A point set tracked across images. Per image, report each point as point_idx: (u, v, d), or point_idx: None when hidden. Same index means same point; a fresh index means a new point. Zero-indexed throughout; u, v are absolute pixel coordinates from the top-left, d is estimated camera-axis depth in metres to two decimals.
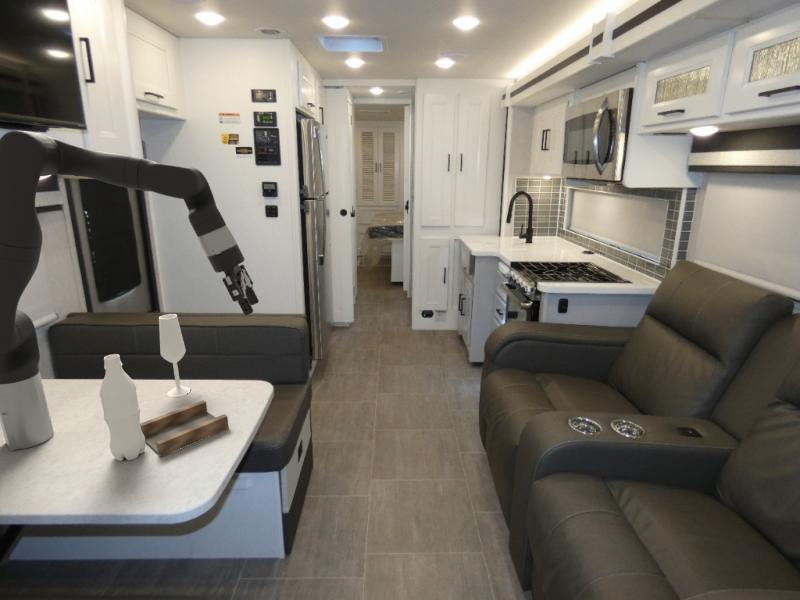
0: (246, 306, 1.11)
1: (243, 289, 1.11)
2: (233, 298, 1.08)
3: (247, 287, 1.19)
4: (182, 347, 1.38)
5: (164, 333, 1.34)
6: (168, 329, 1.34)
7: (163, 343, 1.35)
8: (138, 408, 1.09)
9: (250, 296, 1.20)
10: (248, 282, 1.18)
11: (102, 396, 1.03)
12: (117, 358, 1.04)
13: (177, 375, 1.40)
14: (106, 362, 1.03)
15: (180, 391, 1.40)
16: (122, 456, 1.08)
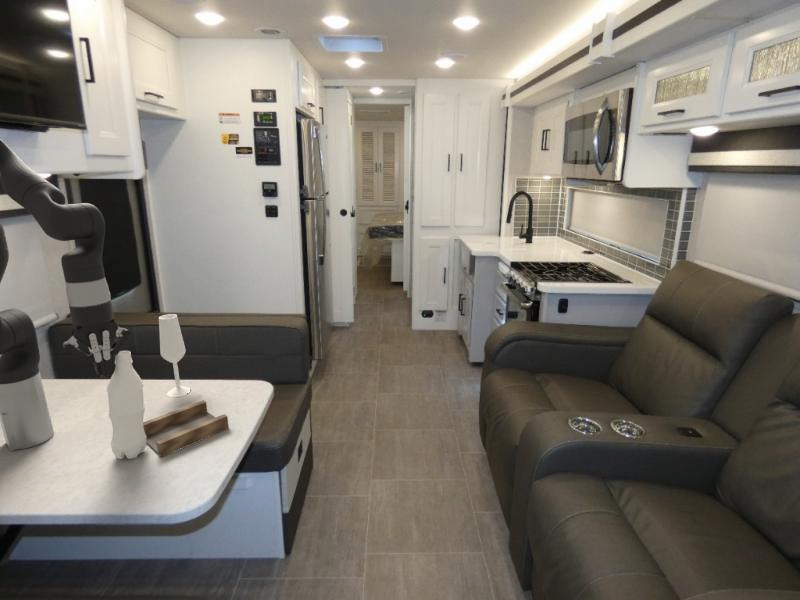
0: (96, 369, 1.02)
1: (95, 353, 1.00)
2: None
3: (102, 355, 1.03)
4: (182, 347, 1.38)
5: (164, 333, 1.34)
6: (168, 329, 1.34)
7: (163, 343, 1.35)
8: (143, 406, 1.09)
9: None
10: (103, 347, 1.01)
11: (110, 391, 1.04)
12: (128, 354, 1.06)
13: (177, 375, 1.40)
14: (117, 358, 1.05)
15: (180, 391, 1.40)
16: (122, 454, 1.08)
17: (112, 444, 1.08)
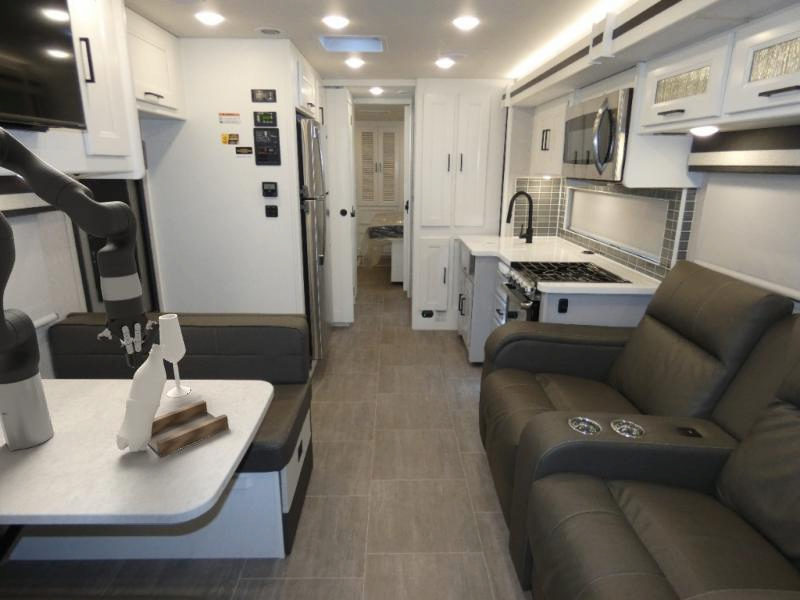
0: (128, 360, 1.06)
1: (127, 345, 1.05)
2: None
3: (134, 347, 1.07)
4: (182, 347, 1.38)
5: (164, 333, 1.34)
6: (168, 329, 1.34)
7: (163, 343, 1.35)
8: (159, 402, 1.13)
9: None
10: (134, 340, 1.06)
11: (137, 377, 1.10)
12: (164, 347, 1.14)
13: (177, 375, 1.40)
14: (153, 348, 1.13)
15: (180, 391, 1.40)
16: (125, 444, 1.08)
17: (119, 432, 1.09)
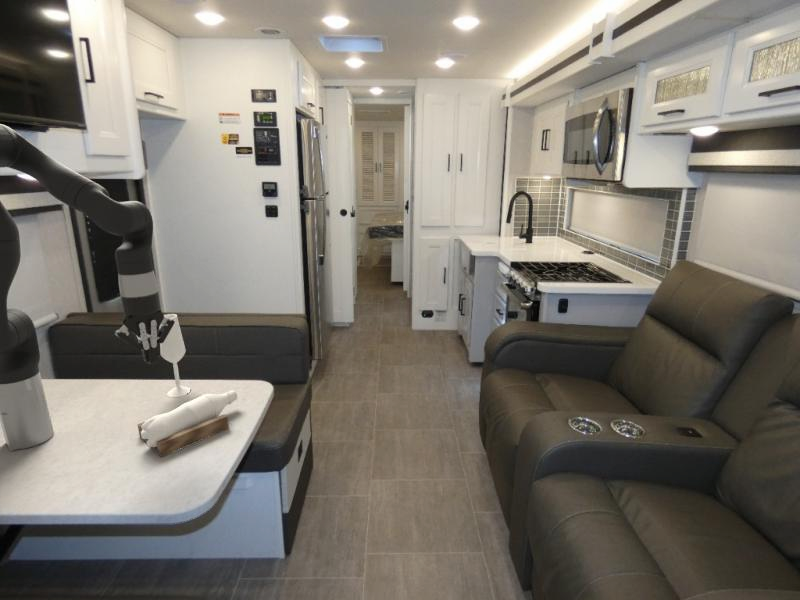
0: (144, 356, 1.09)
1: (143, 341, 1.07)
2: None
3: (149, 343, 1.10)
4: (182, 347, 1.38)
5: None
6: None
7: (163, 343, 1.35)
8: None
9: None
10: (150, 336, 1.08)
11: (212, 400, 1.23)
12: None
13: (177, 375, 1.40)
14: (233, 394, 1.30)
15: (180, 391, 1.40)
16: (157, 433, 1.11)
17: (162, 419, 1.12)
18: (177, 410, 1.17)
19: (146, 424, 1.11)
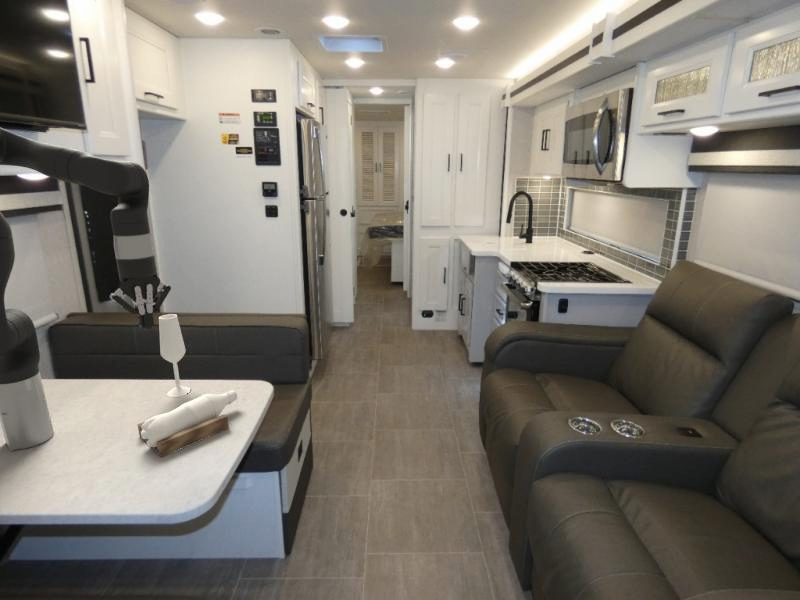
0: (140, 321, 1.07)
1: (139, 305, 1.05)
2: (127, 310, 1.06)
3: (145, 309, 1.08)
4: (182, 347, 1.38)
5: (164, 333, 1.34)
6: (168, 329, 1.34)
7: (163, 343, 1.35)
8: None
9: None
10: (146, 301, 1.06)
11: (212, 400, 1.23)
12: None
13: (177, 375, 1.40)
14: (233, 394, 1.30)
15: (180, 391, 1.40)
16: (157, 433, 1.11)
17: (162, 419, 1.12)
18: (177, 410, 1.17)
19: (146, 424, 1.11)
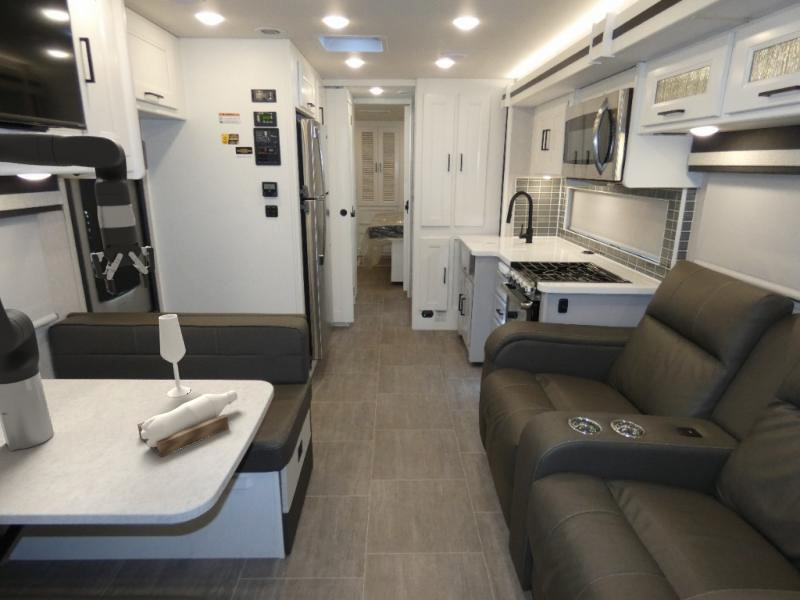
0: (107, 286, 1.13)
1: (111, 270, 1.13)
2: (94, 274, 1.12)
3: None
4: (182, 347, 1.38)
5: (164, 333, 1.34)
6: (168, 329, 1.34)
7: (163, 343, 1.35)
8: None
9: (141, 279, 1.19)
10: (137, 266, 1.17)
11: (212, 400, 1.23)
12: None
13: (177, 375, 1.40)
14: (233, 394, 1.30)
15: (180, 391, 1.40)
16: (157, 433, 1.11)
17: (162, 419, 1.12)
18: (177, 410, 1.17)
19: (146, 424, 1.11)
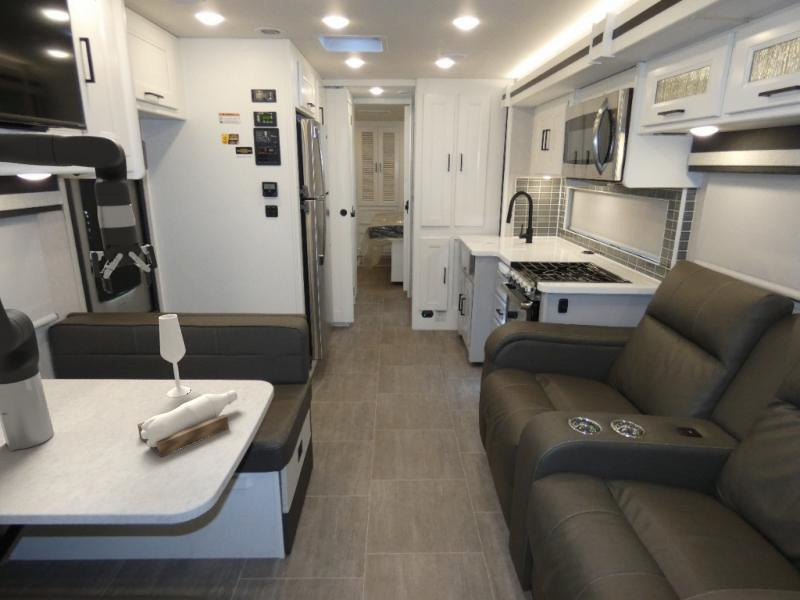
0: (104, 285, 1.13)
1: (109, 269, 1.12)
2: (91, 272, 1.11)
3: None
4: (182, 347, 1.38)
5: (164, 333, 1.34)
6: (168, 329, 1.34)
7: (163, 343, 1.35)
8: None
9: (143, 277, 1.20)
10: (139, 265, 1.17)
11: (212, 400, 1.23)
12: None
13: (177, 375, 1.40)
14: (233, 394, 1.30)
15: (180, 391, 1.40)
16: (157, 433, 1.11)
17: (162, 419, 1.12)
18: (177, 410, 1.17)
19: (146, 424, 1.11)
